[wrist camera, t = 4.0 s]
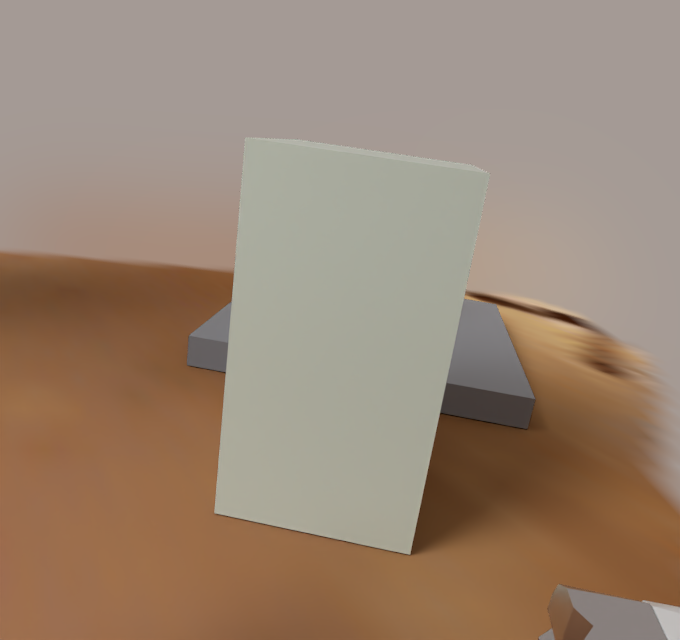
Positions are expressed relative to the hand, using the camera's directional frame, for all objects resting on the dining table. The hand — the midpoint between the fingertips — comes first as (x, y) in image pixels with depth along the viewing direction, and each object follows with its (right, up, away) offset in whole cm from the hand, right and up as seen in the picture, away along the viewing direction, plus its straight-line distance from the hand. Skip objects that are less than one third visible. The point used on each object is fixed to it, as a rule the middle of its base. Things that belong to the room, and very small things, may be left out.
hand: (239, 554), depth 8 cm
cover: (+1, -2, +12) cm, 13 cm away
